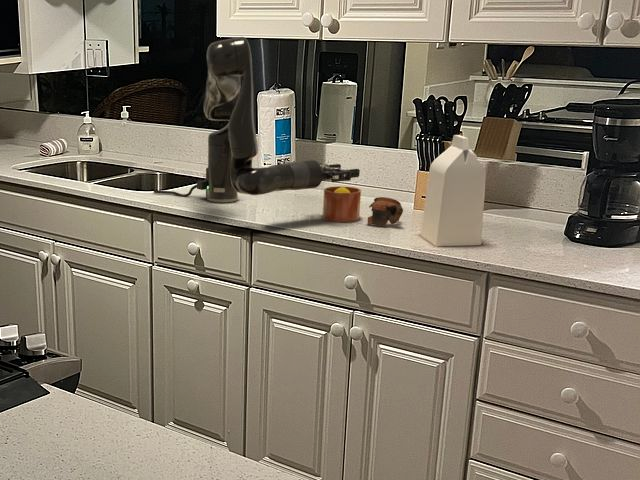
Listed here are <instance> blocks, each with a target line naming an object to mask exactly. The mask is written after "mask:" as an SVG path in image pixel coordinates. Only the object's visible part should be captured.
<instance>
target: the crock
mask: <svg viewBox="0 0 640 480" xmlns="http://www.w3.org/2000/svg"><path fill="white" fill-rule="evenodd" d="M340 187H341V185H339V186H329V187H325V188H324V189H323V199H322V215H321V216H322V219H323V220H325V221H328V222H335V223H351V222H356V221H358V220H360V215H361V199H362V189H361V188H358V187H354V186H344V188H346V189H348V190H349V191H350V193H335V192H334V191H335V190H336V189H338V188H340Z"/></svg>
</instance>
